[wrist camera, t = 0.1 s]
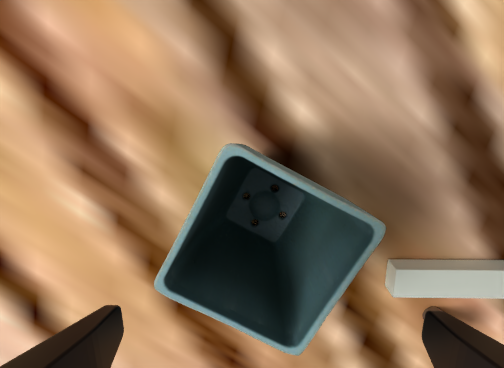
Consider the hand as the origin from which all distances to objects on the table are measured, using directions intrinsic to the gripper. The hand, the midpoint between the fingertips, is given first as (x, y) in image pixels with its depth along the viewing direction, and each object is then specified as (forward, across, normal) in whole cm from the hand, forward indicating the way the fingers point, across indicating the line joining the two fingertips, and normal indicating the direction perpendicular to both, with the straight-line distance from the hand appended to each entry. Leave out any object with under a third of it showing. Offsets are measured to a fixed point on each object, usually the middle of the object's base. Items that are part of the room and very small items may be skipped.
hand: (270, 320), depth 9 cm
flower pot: (+15, 0, +1) cm, 15 cm away
